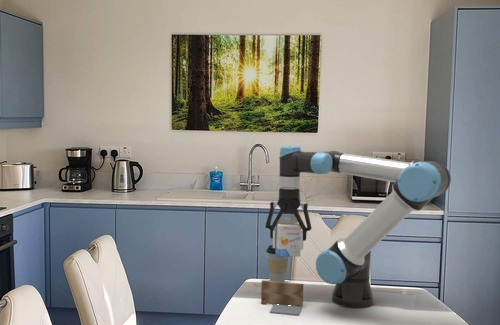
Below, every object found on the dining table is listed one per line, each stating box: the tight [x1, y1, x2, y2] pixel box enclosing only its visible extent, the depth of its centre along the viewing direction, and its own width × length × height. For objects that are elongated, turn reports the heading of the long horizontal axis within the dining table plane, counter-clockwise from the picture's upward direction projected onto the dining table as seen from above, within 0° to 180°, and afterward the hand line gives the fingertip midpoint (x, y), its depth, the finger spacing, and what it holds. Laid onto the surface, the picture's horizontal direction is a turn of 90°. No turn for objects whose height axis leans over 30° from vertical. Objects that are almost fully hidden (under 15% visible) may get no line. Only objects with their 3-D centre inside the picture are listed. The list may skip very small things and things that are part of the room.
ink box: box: [275, 214, 302, 258], centre depth 199 cm, size 8×5×15 cm, turn 102°
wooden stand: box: [260, 279, 305, 308], centre depth 195 cm, size 15×4×8 cm, turn 77°
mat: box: [269, 304, 303, 317], centre depth 188 cm, size 10×8×1 cm
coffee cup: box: [265, 244, 289, 282], centre depth 221 cm, size 9×9×15 cm
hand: (287, 248), depth 200 cm, fingers closed on ink box, 9 cm apart
